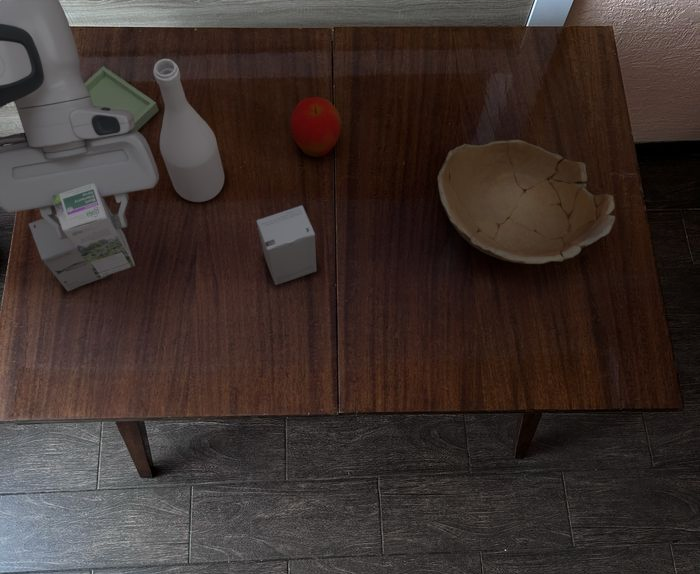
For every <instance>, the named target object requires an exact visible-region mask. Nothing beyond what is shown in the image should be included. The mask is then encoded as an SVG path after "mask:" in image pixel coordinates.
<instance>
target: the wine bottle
mask: <svg viewBox="0 0 700 574" xmlns="http://www.w3.org/2000/svg"><path fill="white" fill-rule="evenodd" d="M152 72H153V76H154V79H155V81H156V83H157V85H158V87H159V90H160V93H161V97H162V101H163V105H164V111H163V112H164V113H163V118H162V123H161V124H162V125H161V130H160V134H159V150H160V154H161V157H162V159H163V162H164V165H165V168H166V170H167V173H168V176H169V177H170V178H169V179H170V181H171V184H172V187H173V189H174V191H175V192H176V193H177V195H179V196H180V197H181V198H183V200H186V201H189V202H193V203H204V202H207V201H210V200H212V199H214V198H215V197H216V196H218V195H219V193H220V192H221V191H222V189H223V187H224V185H225V171H224V167H223V163H222V158H221V154H220V151H219V150H220V149H219V146H218V142H217V138H216V135H215V132H214V131H213V129H212V128H211V127H210V126H209V124H208V123H207V122H206V120H204V119H203V118H202V117H201V116H200V114H199V113H198V111H196V109H194V108H193V106H191V104H190V103H189V101H188V100H187V98H186V95H185V94H186V93H185V90H184V88H183V85H182V81H181V72H180V69H179V66H178V64H177V63H176V62H175V61H174V60H172V59H169V58H162V59H159V60H158V61H156V63H154V67H153V71H152Z"/></svg>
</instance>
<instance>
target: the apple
mask: <svg viewBox="0 0 700 574" xmlns="http://www.w3.org/2000/svg"><path fill="white" fill-rule="evenodd" d="M341 125H342V120H341V116H340V113H339V111H338V109H336V107H335V105H334V104H333V103H332V102H331V101H330V100H328V99H327V98H324V97H319V96H310V97H306V98H304V99H302V100H300V101H298V103H297V104H296V106H295V108H294V110H293V111H292V113H291V117H290V128H291V133H292V137H293V140H294V142H295V143H296V144H297V146H298V147H299V148H300V150H301V152H303V153H304V154H306V155H307V156H309V157H313V158H320V157H324V156H326V155H327V154H329V153H330V152H331V150H332V149H333V148H334V147H335V146H336V144H337V142H338V139H339V135H340V131H341Z"/></svg>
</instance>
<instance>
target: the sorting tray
mask: <svg viewBox="0 0 700 574" xmlns="http://www.w3.org/2000/svg"><path fill="white" fill-rule="evenodd" d="M84 84H85V86H86V87H87V89H88V91H89V93H90V96H91V99H92V103H93V105H94V106H99V107H107V108H113V109H120V110H126V111H130V112H131V113H132V114H133V116H134V120H135V126H134V128H133V130H136V131H138V132H139V130H140V129H141V128H142V127H143V126H144V125H145V124H147V122H148V121H150V120H151V118H153V117H154V116H155V115H156V114H157V113H158V112H159V111H160V110H159V107H158V104H157V102H156V101H155V100H153V99H151V97H149V96H147V95H146V94H145V93H143V92H142V91H140V90H139V89H137V88H135V86H133V85H132V84H130V83H129V82H127V81H125V80H124V79H123V78H122V77H120V76H119V75H117V74H116V73H114V72H112V70H110V69H109V68H107V67H105V66H104V65H102V67H100V68H99V69H98V70H97V71H96V72H94V74H92V76H90V77H89V78H88V79H87V80H86V81H85V82H84Z"/></svg>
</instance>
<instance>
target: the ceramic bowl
mask: <svg viewBox="0 0 700 574" xmlns="http://www.w3.org/2000/svg"><path fill="white" fill-rule="evenodd" d="M436 179H437V186H438V192H439V193H438V194H439V199H440V201H441V205H442V207H443V209H444V212H445V214H446V216H447V217H448V219H449V222H450V224H451V225H452V226H453V227H454V229H455V231H457V233H458V234H459V235H460V236H461V237H462V238H463V239H464V240H465V241H466V242H467V243H468V244H470V246H472V247H473V248H475V249H477V250H478V251H480V252H481V253H483V254H486V255H488V256H490V257H493V258H496V259H499V260H502V261H504V262H510V263H512V264H514V263H515V264H522V265H525V264H527V265H544V264H549V263H552V262H564V261H565V260H568V259H572V258H574V257H576V256H578V255H579V254H580V253H581V252H582V249H583V248H586V247H588V246H590V245H592V244H594V243H596V242H597V241H598V240H600V239H601V238H605V237H606V236H608V235H609V234H610V232H611V231H612V229H613V226H614V223H615V222H616V216H615V215H611V214H612V212H613V211H614V210H615V209H616V204H615V199H614V195H611V194H608V193H601V194H596V195H594V194H593V193H591V192H589V191H588V190H587V183H586V182H588V175H587V164H586V163H584V162H583V161H574V160H569V159H567V158H564V156H562V155H560V154H557V153H553V152H551V151H548V150H546V149H544V148H543V147H541V146H539V145H535V144H531V143H529V142H526V141H524V140H522V139H509V140H496V141H495V140H494V141H490V142H488V143H486V144H483V145H479V144H467V143H463V144H461V145H460V146H456V147H455V148H454V149H451V150H449V151H448V152H447V155H446V158H445V160H444V162H443V164H442V166H441V167H440V170H439V172H438V175H437V177H436Z"/></svg>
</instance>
